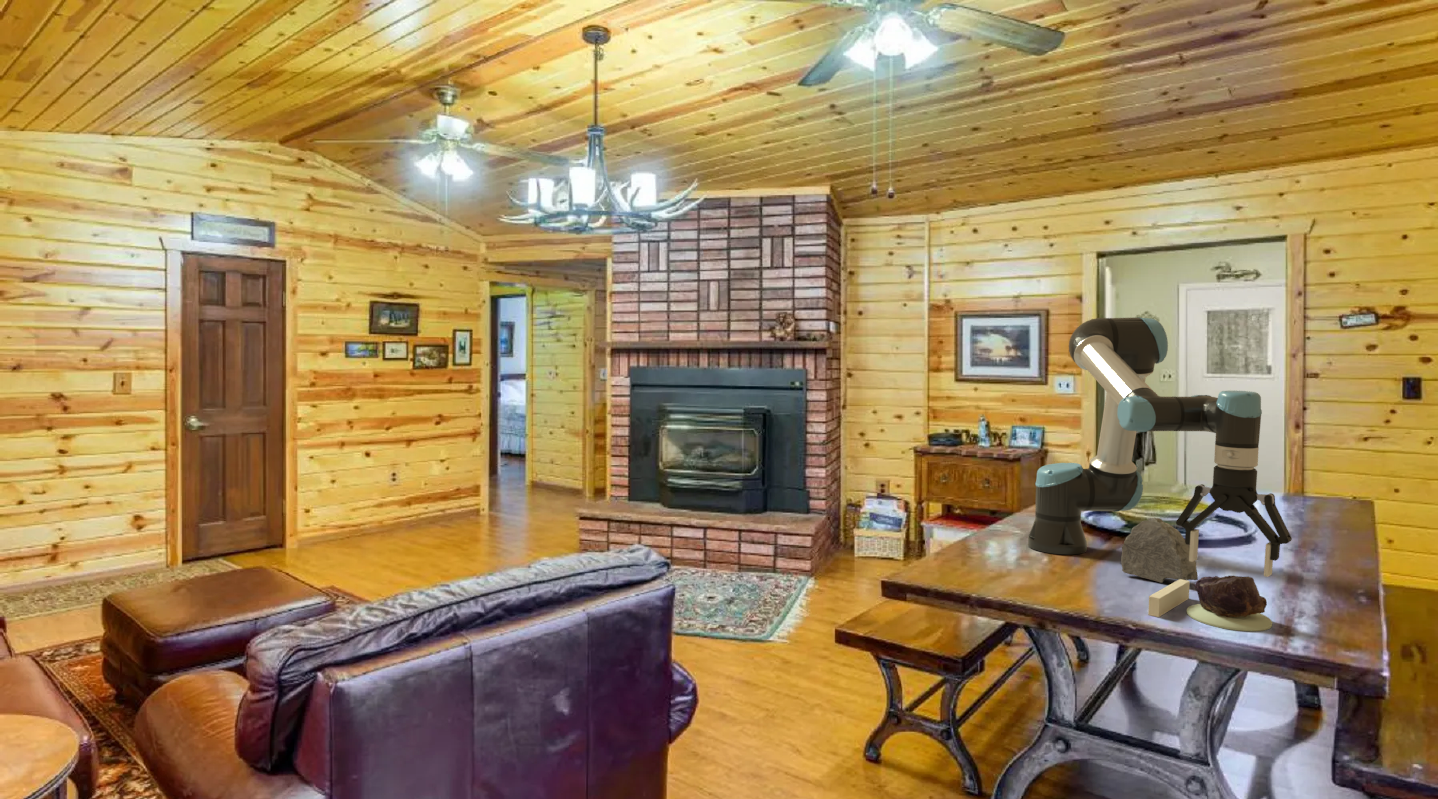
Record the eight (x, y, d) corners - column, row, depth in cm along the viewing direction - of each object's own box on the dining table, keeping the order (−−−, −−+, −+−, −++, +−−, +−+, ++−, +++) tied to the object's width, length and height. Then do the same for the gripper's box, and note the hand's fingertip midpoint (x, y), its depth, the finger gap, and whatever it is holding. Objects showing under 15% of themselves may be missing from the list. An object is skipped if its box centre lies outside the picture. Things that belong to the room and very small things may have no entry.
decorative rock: (1117, 575, 197) (1119, 515, 196) (1127, 570, 202) (1129, 511, 201) (1190, 590, 185) (1193, 526, 184) (1200, 584, 190) (1202, 521, 189)
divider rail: (1148, 614, 169) (1149, 596, 169) (1179, 596, 181) (1179, 579, 181) (1158, 617, 168) (1159, 598, 167) (1188, 598, 180) (1189, 581, 179)
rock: (1208, 609, 174) (1190, 618, 168) (1203, 569, 175) (1185, 577, 168) (1271, 614, 165) (1255, 624, 159) (1266, 572, 166) (1249, 581, 160)
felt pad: (1175, 617, 167) (1176, 614, 167) (1200, 601, 177) (1200, 599, 177) (1260, 637, 156) (1260, 634, 156) (1281, 619, 166) (1281, 616, 166)
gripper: (1162, 460, 171) (1158, 558, 173) (1304, 477, 153) (1296, 585, 155) (1175, 456, 176) (1170, 551, 178) (1314, 472, 158) (1306, 577, 160)
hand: (1229, 567), depth 166 cm, fingers open, 13 cm apart
